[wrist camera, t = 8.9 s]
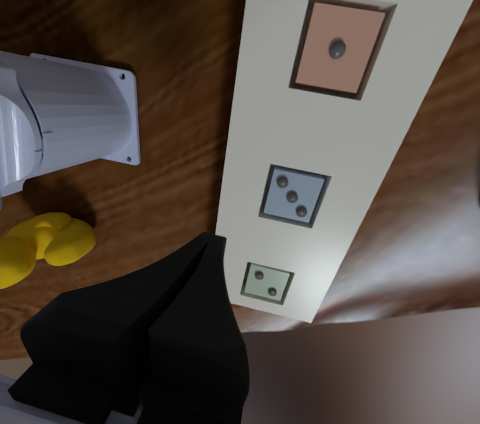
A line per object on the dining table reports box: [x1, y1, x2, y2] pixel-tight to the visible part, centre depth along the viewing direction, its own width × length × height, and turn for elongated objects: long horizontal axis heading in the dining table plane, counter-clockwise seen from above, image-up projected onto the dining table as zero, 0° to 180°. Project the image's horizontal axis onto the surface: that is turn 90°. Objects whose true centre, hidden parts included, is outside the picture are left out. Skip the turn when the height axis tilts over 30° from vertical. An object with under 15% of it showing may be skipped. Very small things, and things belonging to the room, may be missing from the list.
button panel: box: [215, 0, 473, 323], centre depth 19 cm, size 12×28×3 cm, turn 171°
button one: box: [293, 2, 385, 95], centre depth 14 cm, size 4×4×3 cm
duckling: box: [0, 212, 96, 289], centre depth 23 cm, size 11×5×10 cm, turn 93°
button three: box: [264, 165, 324, 223], centre depth 19 cm, size 4×4×3 cm
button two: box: [244, 262, 290, 301], centre depth 23 cm, size 4×4×3 cm
